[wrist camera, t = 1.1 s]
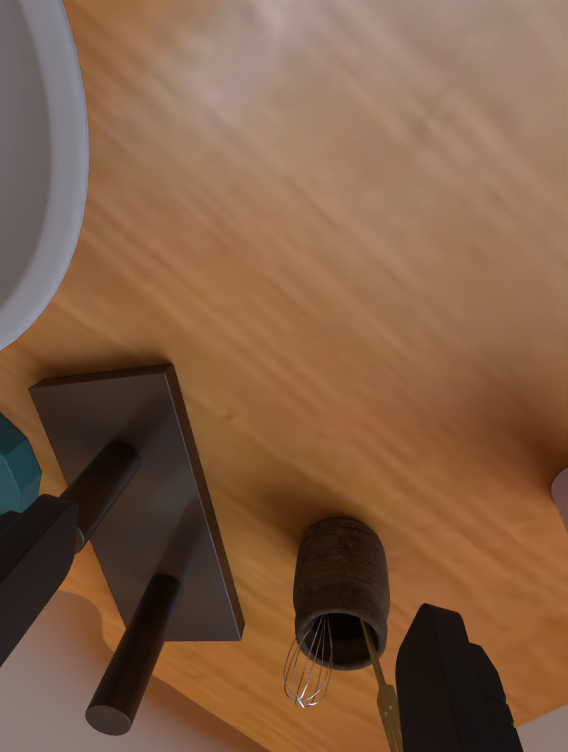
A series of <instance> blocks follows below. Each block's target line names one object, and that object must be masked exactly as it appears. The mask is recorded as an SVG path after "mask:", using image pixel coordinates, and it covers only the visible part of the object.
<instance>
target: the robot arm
mask: <svg viewBox="0 0 568 752" xmlns="http://www.w3.org/2000/svg"><path fill="white" fill-rule="evenodd" d="M78 511H79V507H78V504H77V503H76V502H72V501H69V500H65V499H62V498H58V497H55V496H51V495H48V494H42V495H40V496H39V497H38V498H37V499H36V500H35V501H34V502H33V503H32V504H31V505H30V506H28V507H27V508H26V509H25V510H24V511H23V512H22V513H19V512H16V511H12V510H10V511H8V512H6V513H4V514H2V515H0V667H1V666H2V664H3V663H4V662H5V660H6V659H7V657H8V656H9V655H10V653H11V652H12V651H13V649H14V648H15V647H16V645H17V644H18V643H19V641H20V640H21V638H22V637H23V636H24V634H25V633H26V632H27V630H28V629H29V627H30V626H31V625H32V623H33V622H34V621H35V619H36V618H37V616H38V615H39V614H40V612H41V611H42V610H43V608H44V607H45V606H46V604H47V603H48V601H49V600H50V599H51V597H52V596H53V595H54V593H55V592H56V590H57V589H58V588H59V586H60V585H61V584H62V582H63V581H64V579H65V577H66V576H67V574H68V572H69V570H70V567H71V565H72V562H73V559H74V555H75V546H76V534H77V523H78ZM395 677H396V688H397V697H398V707H399V716H400V725H401V735H402V744H403V752H523V749H522V746H521V743H520V740H519V736H518V734H517V730H516V728H514V726H513V723H514V721H513V718H512V715H511V712H510V709H509V706H508V704H506V696H505V693H504V690H503V687H502V684H501V681H500V678H499V675H498V672H497V670H496V669H495V667H494V665H493V664H492V662H491V661H490V659H489V658H488V656H487V655H486V653H485V652H484V650H483V649H482V647H481V646H480V645H476V644H473V643H469V640H468V636H467V633H466V629H465V626H464V622H463V619H462V617H461V615H460V614H459V613H458V612H455V611H451V610H448V609H444V608H441V607H437V606H434V605H430V604H427V603H424V604H422V605H421V606H420V608H419V610H418V612H417V614H416V616H415V618H414V620H413V622H412V624H411V626H410V628H409V630H408V632H407V634H406V636H405V638H404V640H403V642H402V644H401V646H400V649H399V652H398V655H397V660H396V671H395Z"/></svg>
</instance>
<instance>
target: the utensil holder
mask: <svg viewBox="0 0 568 752" xmlns="http://www.w3.org/2000/svg"><path fill="white" fill-rule="evenodd" d="M293 603H294V609H295V612H296V617H295V634H296V638H295V640H297V643H298V647H299V651H300V649H301V651H302V652H303V653H304V654H305V655H306V656H307V657H308V658H309V659H310V660H312V661H313V666H314V662H315V663H317V664H319V665H321V669H322V666H323V667H326V668H328V669H329V668H330V669H331V671H332V669H334V670H343V671H349V670H357V669H361V668H364V667H367V666H369V665H371V664H373V667H374V671H375V674H376V678H377V681H378V685H379V692H378V698H377V705H378V709H379V712H380V716H381V719H382V723H383V726H384V729H385V733H386V736H387V739H388V743H389V746H390V750H391V752H397V748H398V751H399V752H403V744H402V740H401V736H402V735H401V736H400V733H401V725H400V716H399V707H398V699H397V696H396V693H395V689H394V687H393V686H392V685H387V684H386V683H385V680H384V676H383V673H382V669H381V666H380V663H379V658H380V657H381V655H382V654H383V652H384V650H385V647H386V640H387V622H386V620H387V618H388V615H389V608H390V592H389V581H388V572H387V563H386V557H385V552H384V548H383V546H382V543H381V541H380V539H379V538H378V536H377V535H376V534H375V533H374V532H373V531H372V530H371V529H370V528H368V527H367V526H365V525H364V524H362V523H359V522H357V521H354V520H350V519H343V518H335V519H329V520H325V521H322V522H320V523H318V524H316V525H314V526H313V527H311V528H310V529H309V530H308V531H307V533H306V534H305V535H304V537H303V539H302V541H301V544H300V547H299V551H298V556H297V563H296V570H295V578H294V588H293ZM295 640H294V641H295ZM294 641H293V643H294ZM293 643H292V645H293ZM292 645H291V648H292ZM298 647H297V649H298ZM291 648H290V650H291ZM297 649H296V651H297ZM296 651H295V653H296ZM299 651H298V654H299ZM289 653H290V651H289ZM289 653H288V656H289ZM295 653H294V655H295ZM294 655H293V657H294ZM293 657H292V660H293ZM297 658H298V655H297ZM297 658H296V662H297ZM308 658H307V661H308ZM287 660H288V657H287ZM287 660H286V663H287ZM292 660H291V662H292ZM307 661H306V664H307ZM296 662H295V666H296ZM306 664H305V667H306ZM290 665H291V663H290ZM313 666H312V669H313ZM285 667H286V664H285ZM285 667H284V673H285ZM305 667H304V670H305ZM289 669H290V666H289ZM289 669H288V672H289ZM312 669H311V672H312ZM328 669H327V673H328ZM288 672H287V676H288ZM311 672H310V675H311ZM327 673H326V676H325V679H326V677H327ZM303 674H304V671H303ZM303 674H302V677H303ZM310 675H309V678H310ZM320 675H321V670H320ZM320 675H319V679H320ZM287 676H286V679H287ZM330 676H331V672H330ZM330 676H329V680H330ZM302 677H301V681H302ZM309 678H308V681H309ZM286 679H285V676H284V682H285V684H284V689H285V685H286ZM325 679H324V682H325ZM329 680H328V684H329ZM301 681H300V684H301ZM308 681H307V683H306V686H307V684H308ZM324 682H323V684H324ZM318 683H319V680H318ZM318 683H317V687H318ZM300 684H299V688H300ZM323 684H322V686H323ZM328 684H327V687H328ZM306 686H305V688H304V691H305V689H306ZM322 686H321V687H322ZM317 687H316V691H317ZM321 687H320V688H319V690H320V689H321ZM327 687H326V691H327ZM286 688H287V685H286ZM294 688H295V667H294ZM299 688H298V691H299ZM287 690H288V688H287ZM319 690H318V691H319ZM298 691H297V692H296V688H295V692H296V698H295V697H294V696H293V695H292V694H291V693H290V691H289V690H288V692H289V693H290V694H291V695H292V696H293V697H294V698H295V699H296V700H293V699H291V698H289V697H288V695H287V694H286V696H287V697H288V698H289V699H290V700H293V701H295V705H297V704H298V703H299V702H300V704H301V705H302V703H304V704H308V705H309V706H310V705H312V704H316V703H318V702H319V701H321V700H322V698H323V697H324V696H325V693H326V691H325V693H324V695H323V697H322V698H321V699H320V700H319V701H317V702H315V703H312V702H313V700H314V697H315V694H316V693H317V692H318V691H317V692H316V691H315V694H314V695H312V696H311V697H313V696H314V697H313V700H312V702H311V703H305V702H302V701H304V700H307V699H310V698H311V697H309V698H307V699H303V700H300V699H301V697H302V695H303V693H304V691H303V693H302V695H301V697H300V699H299V698H298V696H297V695H298ZM285 693H286V690H285ZM297 698H298V699H297ZM296 701H298V702H297V704H296ZM301 702H302V703H301ZM302 706H303V705H302ZM309 706H307V707H305V706H303V707H305V708H308V707H309ZM396 721H397V722H396ZM397 724H398V725H397ZM398 727H399V729H398ZM399 730H400V733H399ZM392 732H393V733H392ZM393 735H394V737H393ZM394 738H395V741H394ZM395 742H396V744H395ZM396 745H397V748H396Z"/></svg>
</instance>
